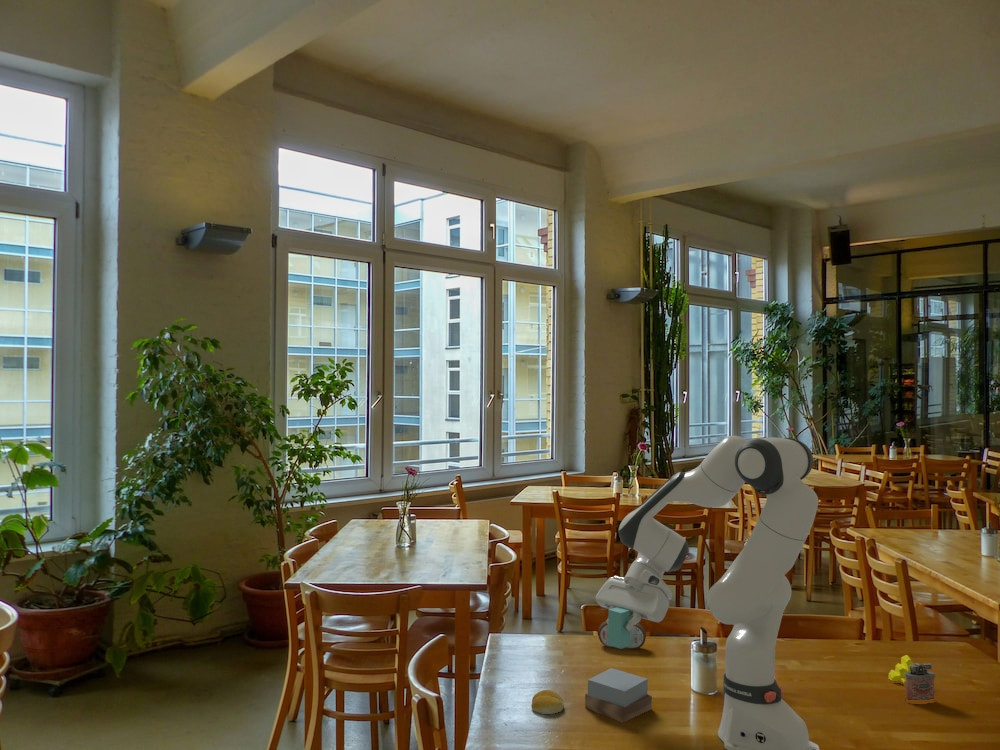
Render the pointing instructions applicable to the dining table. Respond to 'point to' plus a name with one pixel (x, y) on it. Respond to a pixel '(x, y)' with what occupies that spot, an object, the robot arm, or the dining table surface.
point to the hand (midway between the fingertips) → (617, 626)
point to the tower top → (617, 687)
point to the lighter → (920, 682)
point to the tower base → (619, 707)
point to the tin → (635, 640)
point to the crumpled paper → (901, 670)
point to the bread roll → (547, 702)
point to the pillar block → (618, 627)
